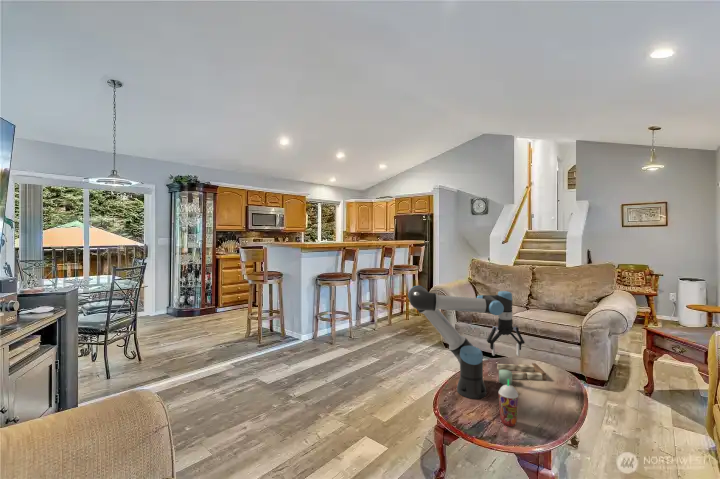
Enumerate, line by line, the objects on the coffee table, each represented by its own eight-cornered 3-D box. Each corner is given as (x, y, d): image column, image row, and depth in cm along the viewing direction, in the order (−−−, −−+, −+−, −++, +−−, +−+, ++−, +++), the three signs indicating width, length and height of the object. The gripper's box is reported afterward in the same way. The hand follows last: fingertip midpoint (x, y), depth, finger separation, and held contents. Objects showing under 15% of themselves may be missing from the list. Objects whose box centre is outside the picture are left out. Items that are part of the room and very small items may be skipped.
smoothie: (509, 430, 147) (508, 385, 147) (494, 420, 155) (494, 377, 155) (522, 425, 151) (522, 381, 150) (507, 416, 158) (507, 374, 158)
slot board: (504, 378, 199) (504, 372, 198) (497, 368, 213) (497, 362, 213) (546, 380, 196) (545, 373, 196) (535, 369, 211) (535, 363, 211)
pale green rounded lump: (501, 384, 191) (500, 374, 191) (497, 379, 198) (497, 369, 198) (513, 385, 190) (513, 374, 190) (509, 379, 197) (509, 369, 197)
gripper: (484, 319, 191) (484, 357, 192) (530, 320, 188) (530, 358, 189) (481, 316, 199) (481, 352, 199) (525, 317, 196) (525, 353, 196)
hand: (505, 355), depth 194 cm, fingers open, 13 cm apart
